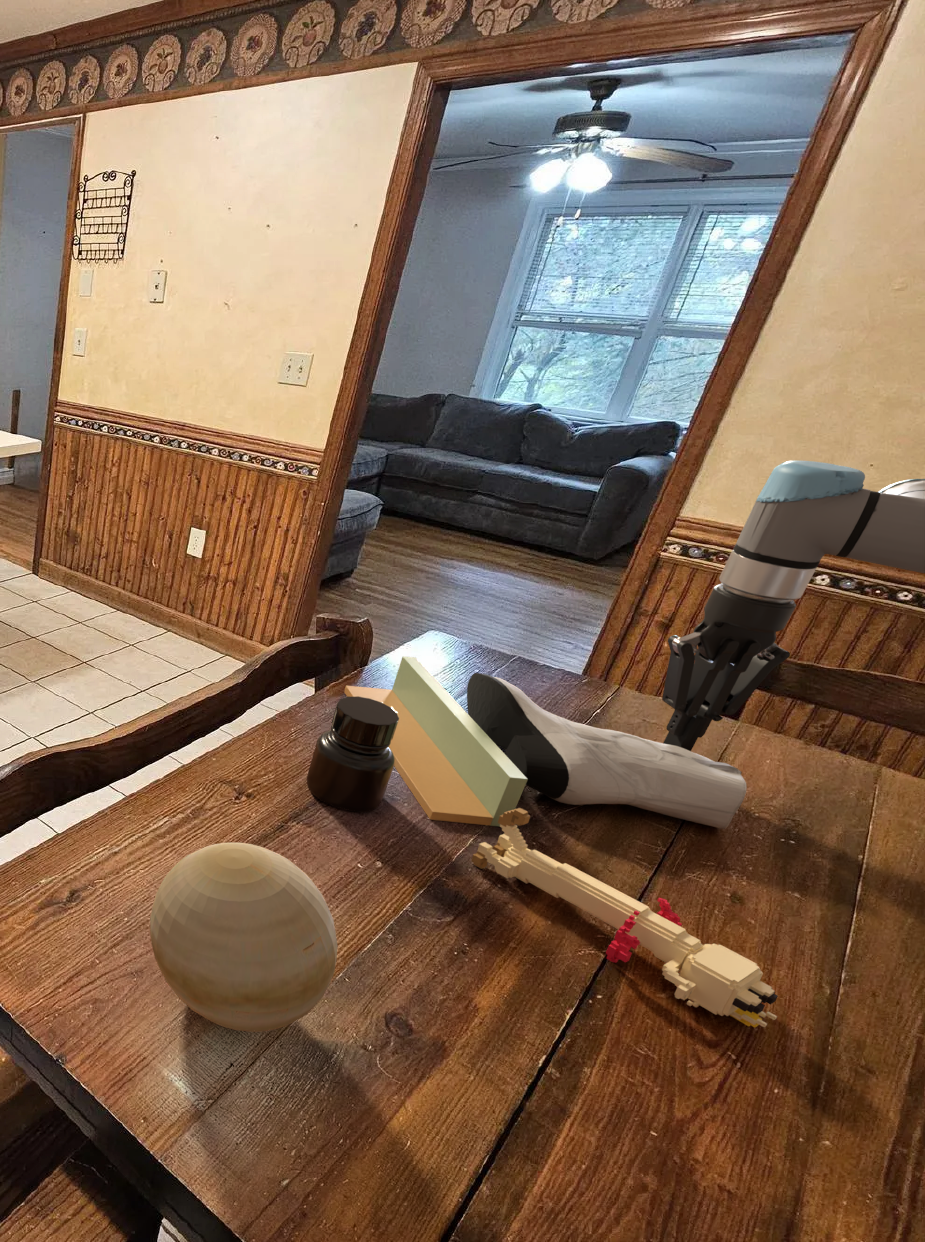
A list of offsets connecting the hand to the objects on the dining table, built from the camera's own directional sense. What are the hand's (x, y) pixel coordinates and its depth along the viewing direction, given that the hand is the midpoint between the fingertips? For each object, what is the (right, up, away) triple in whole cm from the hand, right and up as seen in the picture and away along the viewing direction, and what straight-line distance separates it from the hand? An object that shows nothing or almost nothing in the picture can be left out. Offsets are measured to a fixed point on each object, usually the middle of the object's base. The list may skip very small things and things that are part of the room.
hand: (672, 754), depth 106 cm
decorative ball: (-72, -17, -35) cm, 82 cm away
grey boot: (-11, -2, +2) cm, 11 cm away
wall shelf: (-33, 0, +4) cm, 33 cm away
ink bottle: (-47, -4, -6) cm, 48 cm away
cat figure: (-31, -15, -27) cm, 43 cm away
